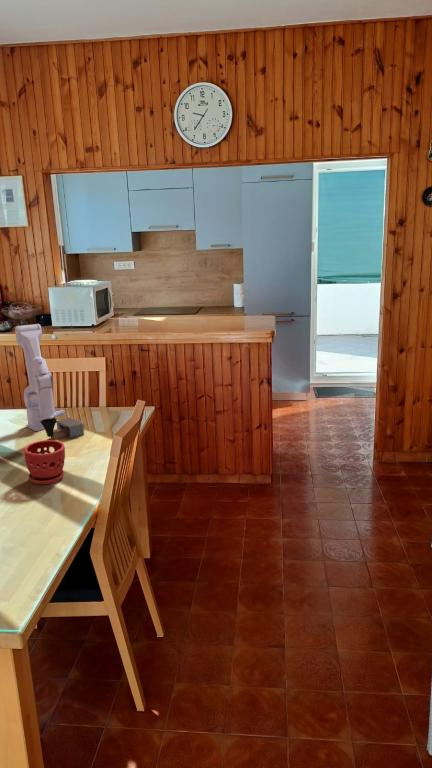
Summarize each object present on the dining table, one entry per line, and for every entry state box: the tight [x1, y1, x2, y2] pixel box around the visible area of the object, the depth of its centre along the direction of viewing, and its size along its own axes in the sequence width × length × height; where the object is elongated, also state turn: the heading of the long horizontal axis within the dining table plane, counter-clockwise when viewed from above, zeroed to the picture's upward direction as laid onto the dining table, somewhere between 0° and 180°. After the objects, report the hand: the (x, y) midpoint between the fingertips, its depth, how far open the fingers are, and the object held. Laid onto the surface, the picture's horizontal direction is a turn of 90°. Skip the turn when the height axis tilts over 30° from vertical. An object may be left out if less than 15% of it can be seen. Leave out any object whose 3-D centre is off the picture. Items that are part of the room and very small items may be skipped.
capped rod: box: [50, 422, 85, 440], centre depth 244 cm, size 3×14×3 cm, turn 135°
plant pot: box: [23, 439, 66, 485], centre depth 200 cm, size 13×13×12 cm
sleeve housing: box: [56, 417, 85, 439], centre depth 244 cm, size 11×6×5 cm, turn 42°
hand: (49, 436), depth 238 cm, fingers closed
